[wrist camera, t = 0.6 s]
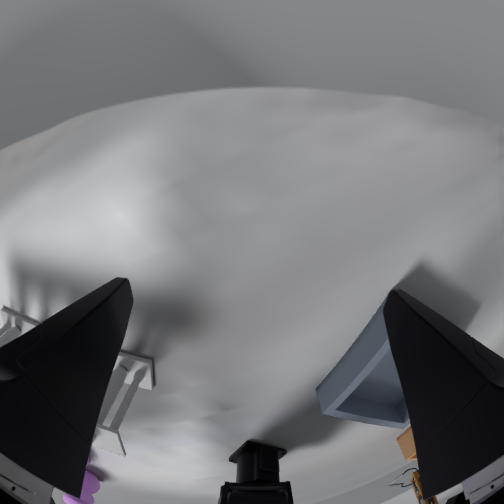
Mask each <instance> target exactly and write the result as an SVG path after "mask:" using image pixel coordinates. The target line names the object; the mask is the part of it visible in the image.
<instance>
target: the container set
mask: <svg viewBox="0 0 504 504" xmlns="http://www.w3.org/2000/svg"><path fill="white" fill-rule="evenodd" d="M89 462H90V459H89V457H88V462H87V466H88V464H89ZM87 466H86V468H87ZM99 489H100V483H99V480H98V478H97V477H96V476H95V475H94V474H92V473H91V472H89V471H87V470H86V471H85V476H84V481H83V486H82V491H81V496H80V499H78V498H76V497H74V496H71V495H69V494H65V495H64V496H63V499H64V501H65V502H66V503H67V504H93V503H94V498H93V496H92V495H91V494H94V493H96V492H97V491H98V490H99Z"/></svg>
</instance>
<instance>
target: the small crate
mask: <svg viewBox="0 0 504 504" xmlns="http://www.w3.org/2000/svg"><path fill="white" fill-rule="evenodd" d="M397 441H398V443H399V445H400V448H401V450H402V452H403V455H404V457H405V459H406V460H417V455H416V449H415V443H414V438H413V433H412V429H411V427H409V428H408V429H407V430H406V431H405V432H404V433H403V434H402V435H401V436H399V437H398V438H397Z"/></svg>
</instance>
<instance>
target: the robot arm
mask: <svg viewBox="0 0 504 504" xmlns="http://www.w3.org/2000/svg"><path fill="white" fill-rule="evenodd" d="M132 306H133V295H132V290H131V286H130V282H129V280H128V279H127V278H121V277H117V278H115V279H113V280H111V281H110V282H108V283H106V284H104V285H103V286H101V287H99V288H98V289H96V290H94V291H92V292H91V293H89V294H87V295H86V296H84V297H82V298H81V299H79V300H77V301H76V302H74V303H72V304H71V305H69V306H67V307H66V308H64V309H63V310H61V311H59V312H58V313H56V314H54V315H53V316H51V317H50V318H48V319H47V320H45V321H43V322H42V323H40V324H39V325H37V326H35V327H34V328H32V329H31V330H29V331H27V332H26V333H24V334H23V335H21V336H19V337H17V338H16V339H14V340H12V341H10V342H8V343H7V344H5V345H3V346H1V347H0V504H55V502H54V500H53V498H52V492H53V488H54V487H55V488H57V489H59V490H61V491H63V492H65V493H67V494H69V495H71V496H74V497H76V498H78V499H80V496H81V491H82V486H83V481H84V476H85V471H86V466H87V462H88V457H89V453H90V449H91V444H92V440H93V436H94V432H95V429H96V425H97V421H98V418H99V414H100V411H101V407H102V404H103V401H104V397H105V394H106V391H107V388H108V384H109V381H110V378H111V375H112V372H113V369H114V366H115V363H116V361H117V358H118V355H119V352H120V349H121V346H122V343H123V341H124V337H125V333H126V329H127V325H128V321H129V317H130V313H131V310H132ZM383 317H384V321H385V326H386V330H387V335H388V340H389V344H390V349H391V352H392V356H393V359H394V363H395V366H396V369H397V373H398V376H399V380H400V384H401V387H402V391H403V395H404V399H405V403H406V407H407V411H408V415H409V420H410V424H411V429H412V433H413V438H414V443H415V449H416V455H417V461H418V466H419V473H420V480H421V488H422V496H423V500H426V499H429V498H431V497H433V496H436V495H438V494H440V493H442V492H444V491H446V490H448V489H450V488H452V487H454V486H456V485H458V484H460V483H462V487H463V492H461V493H459V494H457V495H455V496H453V497H452V498H450V499H448V500H447V502H446V504H504V358H502V357H501V356H499V355H498V354H496V353H495V352H493V351H491V350H490V349H488V348H487V347H486V346H484V345H483V344H481V343H480V342H478V341H477V340H476V339H474V338H473V337H471V336H470V335H468V334H467V333H466V332H464V331H463V330H461V329H460V328H458V327H457V326H455V325H454V324H453V323H451V322H450V321H448V320H447V319H445V318H444V317H442V316H441V315H439V314H438V313H436V312H435V311H433V310H432V309H430V308H429V307H427V306H426V305H424V304H423V303H421V302H420V301H418V300H417V299H415V298H414V297H412V296H410V295H409V294H407V293H406V292H404V291H403V290H391V291H390V292H389V294H388V297H387V300H386V302H385V305H384V307H383ZM286 453H287V451H286V450H284V449H279V448H275V447H270V446H266V445H262V444H258V443H254V442H250V441H248V442H246V443H244V444H243V445H242V446H241V447H240V448H239V449H238V450H237V451H236V452H235V453H234V454H233V455H232V456H231V457H229V461H230V462H233V463H237V477H236V483H230V482H225V485H224V486H221V491H220V498H219V501H218V504H293V497H292V491H291V485H290V481H286V482H280V480H279V471H280V470H279V459H280V458H282V457H283V456H284V455H285V454H286Z"/></svg>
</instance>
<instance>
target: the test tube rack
mask: <svg viewBox="0 0 504 504" xmlns="http://www.w3.org/2000/svg"><path fill="white" fill-rule="evenodd" d="M1 314H2V318H3V321H4V326H3V327H2V328H1V329H0V336H1V337H0V347H1V346H3V345H5V344H7V343H8V342H10V341H12V340H14V339H16V338H17V337H19V336H21V335H23V334H24V333H26V332H27V331H29V330H31V329H32V328H34V327H35V326H37V325H39V324H38V323H36V322H34V321H31V320H29V319H27V318H24V317H22V316H20V315H18V314H15V313H13V312H11V311H9V310H7V309H5V308H2V309H1ZM5 332H6V333H5ZM4 333H5V334H4ZM123 383H127V384H130V387H129V389H128V391H127V393H126V395H125V397H124V399H123V401H122V403H121V405H120V407H119V409H118V411H117V413H116V415H115V417H114V419H113V421H112V424H111V426H110V428H109V427H106V426H103V425H102V424H103V422H104V420H105V418H106V416H107V414H108V412H109V410H110V408H111V406H112V404H113V402H114V400H115V398H116V397H117V395H118V393H119V391H120V389H121V387H122V385H123ZM138 387H141V388H145V389H148V390H153V387H154V382H153V366H152V360H150V359H146V358H142V357H138V356H134V355H130V354H126V353H123V352H119V355H118V358H117V361H116V363H115V366H114V369H113V372H112V375H111V378H110V381H109V384H108V388H107V391H106V394H105V397H104V401H103V404H102V407H101V411H100V414H99V418H98V421H97V425H96V429H95V432H94V436H93V440H92V444H91V446H92V445H94V446H97V447H99V448H102V449H104V450H107V451H110V452H113V453H115V454H118V455H121V456H124V457H125V456H126V452H125V449H124V446H123V443H122V440H121V437H120V434H119V431H118V429H119V426H120V424H121V422H122V420H123V418H124V415H125V413H126V411H127V409H128V407H129V405H130V402H131V400H132V398H133V396H134V394H135V392H136V390H137V388H138Z"/></svg>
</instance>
